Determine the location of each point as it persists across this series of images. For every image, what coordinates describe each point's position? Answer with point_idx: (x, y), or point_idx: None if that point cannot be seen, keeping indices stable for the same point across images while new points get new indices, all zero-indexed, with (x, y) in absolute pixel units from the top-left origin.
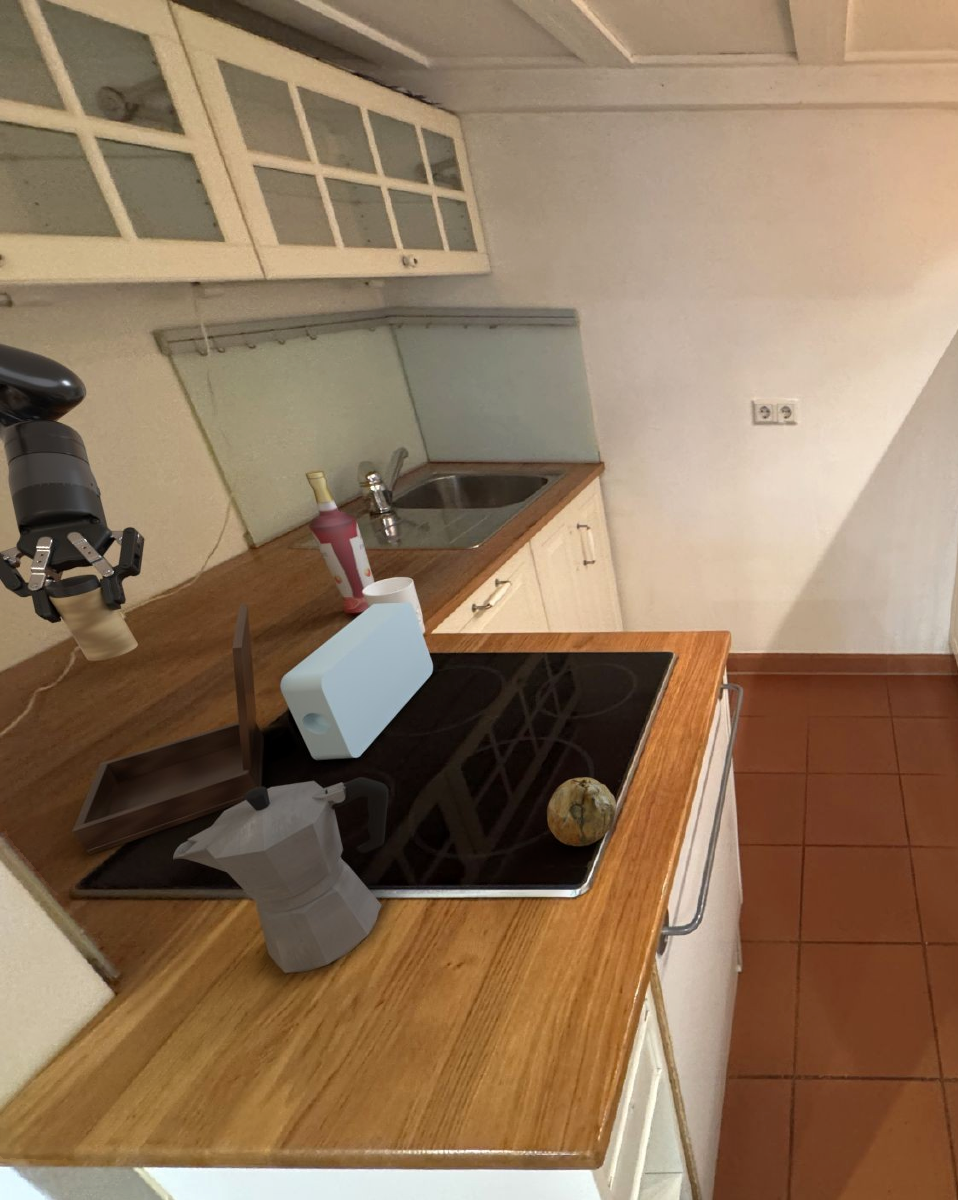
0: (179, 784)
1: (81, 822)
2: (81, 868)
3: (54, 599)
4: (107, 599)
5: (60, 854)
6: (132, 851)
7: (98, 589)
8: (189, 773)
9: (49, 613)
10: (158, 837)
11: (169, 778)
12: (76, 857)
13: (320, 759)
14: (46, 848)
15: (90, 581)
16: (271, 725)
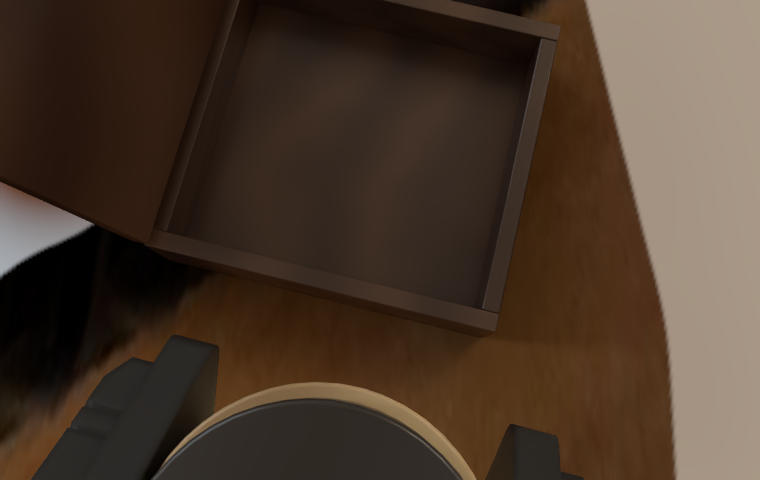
0: (367, 170)
1: (544, 48)
2: None
3: (470, 469)
4: (187, 357)
5: (586, 120)
6: None
7: (181, 445)
8: (340, 205)
9: (521, 430)
10: None
11: (379, 222)
12: (562, 81)
13: None
14: (609, 170)
15: (177, 454)
16: (131, 328)
